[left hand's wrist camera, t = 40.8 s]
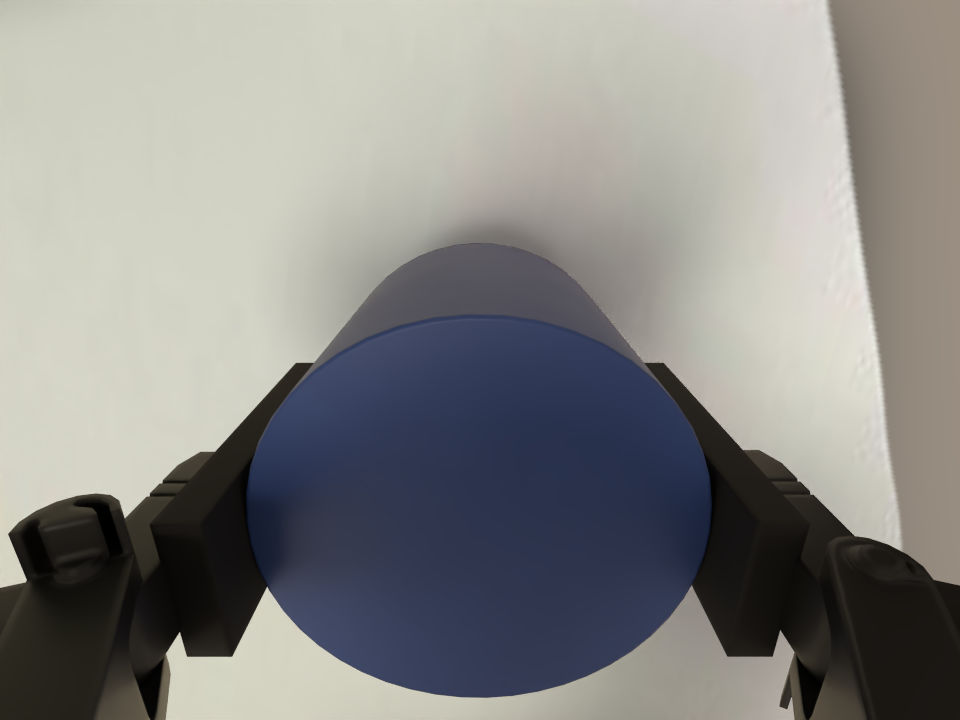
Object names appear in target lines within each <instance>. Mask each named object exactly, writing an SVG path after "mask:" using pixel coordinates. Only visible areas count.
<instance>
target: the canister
mask: <svg viewBox="0 0 960 720" xmlns="http://www.w3.org/2000/svg"><path fill="white" fill-rule="evenodd" d="M711 516H712V495H711V484H710V476H709V472H708V468H707V465H706V461H705V457H704V453H703V450H702V448H701V446H700V444H699V441H698V439H697V437H696V435H695V432H694V430H693V428H692V426H691V424H690V423H689V421H688V420H687V418H686V417H685V415H684V414H683V412H682V411H681V409H680V408H679V406H678V404H677V403H676V402H675V400H674V399H673V398H672V397H671V396H670V394H669V393H668V392H667V391H666V389H665V388H664V387H663V386H662V384H661V383H660V382H659V381H658V380H657V378H656V377H655V376H654V375H653V373H652V372H651V371H650V370H649V369H648V367H647V366H646V365H645V364H644V362H643V361H642V360H641V359H640V358H639V356H638V355H637V354H636V353H635V351H634V350H633V349H632V348H631V346H630V345H629V344H628V343H627V342H626V340H625V339H624V338H623V337H622V335H621V334H620V333H619V332H618V331H617V329H616V328H615V327H614V326H613V324H612V323H611V322H610V321H609V320H608V318H607V317H606V316H605V315H604V313H603V312H602V311H601V310H600V308H599V307H598V306H597V305H596V304H595V302H594V301H593V300H592V299H591V297H590V296H589V295H588V294H587V293H586V292H585V291H584V289H583V288H582V287H581V286H580V285H579V284H578V283H577V282H576V281H575V280H574V279H573V278H572V277H570V276H569V275H568V274H567V273H566V272H565V271H563V270H562V269H560V268H559V267H557V266H556V265H554V264H552V263H551V262H549V261H548V260H546V259H544V258H541V257H539V256H537V255H535V254H533V253H530V252H527V251H524V250H521V249H517V248H514V247H510V246H504V245H497V244H482V243H471V244H462V245H454V246H449V247H445V248H441V249H437V250H434V251H432V252H429V253H426V254H424V255H421V256H419V257H417V258H415V259H413V260H411V261H410V262H408V263H406V264H404V265H402V266H401V267H400V268H398V269H397V270H396V271H394V272H393V273H392V274H390V275H389V276H388V277H387V278H386V279H385V280H384V281H383V282H382V283H381V284H380V285H379V286H378V287H377V288H376V289H375V290H374V291H373V292H372V293H371V294H370V296H369V297H368V298H367V299H366V301H365V302H364V303H363V304H362V305H361V307H360V308H359V309H358V310H357V312H356V313H355V314H354V315H353V316H352V318H351V319H350V320H349V321H348V322H347V324H346V325H345V326H344V327H343V329H342V330H341V331H340V332H339V333H338V335H337V336H336V337H335V338H334V340H333V341H332V342H331V343H330V344H329V346H328V347H327V348H326V349H325V351H324V352H323V353H322V354H321V355H320V357H319V358H318V359H317V360H316V361H315V363H314V364H313V365H312V366H311V368H310V369H309V370H308V371H307V372H306V374H305V375H304V376H303V377H302V379H301V380H300V381H299V382H298V383H297V385H296V386H295V387H294V388H293V390H292V391H291V392H290V393H289V394H288V396H287V397H286V399H285V400H284V401H283V403H282V404H281V405H280V407H279V408H278V409H277V411H276V412H275V413H274V415H273V416H272V417H271V419H270V421H269V423H268V425H267V427H266V429H265V431H264V433H263V435H262V437H261V439H260V440H259V443H258V446H257V449H256V452H255V455H254V458H253V461H252V464H251V467H250V473H249V479H248V485H247V492H246V521H247V527H248V533H249V539H250V545H251V548H252V551H253V554H254V557H255V560H256V563H257V566H258V569H259V571H260V573H261V575H262V577H263V579H264V581H265V583H266V585H267V587H268V589H269V591H270V592H271V593H272V595H273V596H274V598H275V599H276V601H277V602H278V604H279V605H280V607H281V608H282V609H283V611H284V612H285V613H286V614H287V615H288V616H289V617H290V619H291V620H292V621H293V622H294V623H295V624H296V625H297V626H298V627H299V629H300V630H302V631H303V632H304V633H305V634H306V635H307V636H308V637H310V638H311V639H312V640H313V641H314V642H315V643H316V644H318V645H319V646H320V647H322V648H323V649H325V650H326V651H327V652H329V653H330V654H332V655H333V656H335V657H336V658H338V659H339V660H341V661H343V662H345V663H346V664H348V665H350V666H352V667H354V668H356V669H357V670H359V671H361V672H363V673H366V674H368V675H371V676H373V677H375V678H378V679H380V680H383V681H385V682H388V683H391V684H395V685H398V686H401V687H405V688H408V689H412V690H417V691H421V692H426V693H431V694H437V695H446V696H455V697H481V698H488V697H502V696H514V695H520V694H526V693H532V692H538V691H542V690H546V689H549V688H553V687H557V686H561V685H564V684H567V683H570V682H572V681H575V680H578V679H580V678H583V677H586V676H588V675H590V674H592V673H594V672H596V671H598V670H600V669H602V668H604V667H606V666H609V665H610V664H612V663H614V662H615V661H617V660H618V659H620V658H622V657H623V656H625V655H626V654H628V653H630V652H631V651H632V650H634V649H635V648H636V647H638V646H639V645H640V644H641V643H643V642H644V641H645V640H646V639H648V638H649V637H650V636H651V635H652V634H653V633H654V632H655V631H656V630H657V629H658V628H659V627H660V626H661V625H662V624H663V623H664V622H665V621H666V620H667V619H668V618H669V617H670V616H671V614H672V613H673V612H674V610H675V609H676V608H677V606H678V605H679V604H680V603H681V601H682V600H683V599H684V597H685V595H686V593H687V592H688V590H689V588H690V586H691V585H692V583H693V581H694V580H695V578H696V575H697V573H698V570H699V568H700V565H701V563H702V560H703V558H704V555H705V552H706V547H707V543H708V539H709V535H710V530H711Z"/></svg>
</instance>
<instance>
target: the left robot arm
mask: <svg viewBox="0 0 960 720" xmlns="http://www.w3.org/2000/svg"><path fill="white" fill-rule="evenodd" d="M313 364H314V363H296V364H295V365H294V366H293V367H292V368H291V369H290V370H289V371H288V372H287V374H286V375H285V376H284V377H283V378H282V379H281V380H280V381H279V382H278V383H277V385H276V386H275V387H274V388H273V389H272V390H271V391H270V392H269V393H268V394H267V396H266V397H265V398H264V399H263V400H262V401H261V402H260V403H259V404H258V405H257V407H256V408H255V409H254V410H253V411H252V412H251V413H250V414H249V415H248V416H247V418H246V419H245V420H244V421H243V422H242V423H241V424H240V425H239V426H238V427H237V429H236V430H235V431H234V432H233V433H232V434H231V435H230V436H229V437H228V438H227V440H226V441H225V442H224V443H223V444H222V445H221V446H220V447H219V448H218V449H217V451H216V452H200V453H198V454H196V455H195V456H193V457H191V458H189V459H188V460H186V461H184V462H183V463H181V464H179V465H178V466H177V467H176V468H175V469H174V470H173V471H172V472H171V473H170V474H169V475H168V476H167V477H166V478H165V479H164V480H163V483H162V484H159V485H158V486H157V487H156V488H155V489H154V490H153V491H152V492H151V493H150V497H146V498H145V499H144V500H143V501H142V502H141V503H140V504H139V505H138V506H137V507H136V508H135V509H134V510H133V511H132V512H131V513H130V514H129V515H128V516H127V517H126V518H124V515H123V512H122V508H121V505H120V502H119V500H118V499H116V498H114V497H113V496H111V495H105V494H89V495H81V496H75V497H72V498H68V499H65V500H61V501H58V502H55V503H53V504H51V505H48V506H46V507H44V508H42V509H40V510H37V511H35V512H34V513H32V514H31V515H29V516H28V517H26V518H25V519H23V520H22V521H20V522H19V523H18V524H17V525H16V526H15V527H14V528H13V529H12V530H11V532H10V533H9V534H8V535H9V537H10V540H11V542H12V545H13V547H14V550H15V552H16V554H17V557H18V559H19V562H20V564H21V567H22V569H23V571H24V574H25V576H26V579H27V581H26V583H21V584H17V585H12V586H7V587H3V588H0V720H166V711H167V702H168V693H169V684H170V675H171V674H170V668H169V662H168V659H167V656H166V652H167V651H168V649H169V648H170V646H171V645H172V643H173V641H174V640H175V638H176V637H177V635H178V634H179V632H180V633H181V637H182V640H183V644H184V647H185V651H186V655H187V657H232V656H233V654H234V652H235V650H236V648H237V646H238V644H239V642H240V640H241V638H242V636H243V634H244V632H245V630H246V628H247V626H248V624H249V622H250V620H251V618H252V616H253V614H254V612H255V610H256V608H257V606H258V604H259V602H260V600H261V598H262V596H263V594H264V592H265V590H266V588H267V585H266V583H265V581H264V579H263V577H262V575H261V573H260V571H259V569H258V566H257V563H256V560H255V557H254V554H253V551H252V548H251V545H250V539H249V533H248V527H247V521H246V492H247V485H248V479H249V473H250V467H251V464H252V461H253V458H254V455H255V452H256V449H257V446H258V443H259V440H260V439H261V437H262V435H263V433H264V431H265V429H266V427H267V425H268V423H269V421H270V419H271V417H272V416H273V415H274V413H275V412H276V411H277V409H278V408H279V407H280V405H281V404H282V403H283V401H284V400H285V399H286V397H287V396H288V394H289V393H290V392H291V391H292V390H293V388H294V387H295V386H296V385H297V383H298V382H299V381H300V380H301V379H302V377H303V376H304V375H305V374H306V372H307V371H308V370H309V369H310V368H311V366H312V365H313ZM644 364H645V365H646V366H647V367H648V369H649V370H650V371H651V372H652V373H653V375H654V376H655V377H656V378H657V380H658V381H659V382H660V383H661V384H662V386H663V387H664V388H665V389H666V391H667V392H668V393H669V394H670V396H671V397H672V398H673V399H674V400H675V402H676V403H677V404H678V406H679V408H680V409H681V411H682V412H683V414H684V415H685V417H686V418H687V420H688V421H689V423H690V424H691V426H692V428H693V430H694V432H695V435H696V437H697V439H698V441H699V444H700V446H701V448H702V450H703V453H704V457H705V461H706V465H707V468H708V472H709V476H710V484H711V495H712V516H711V530H710V535H709V539H708V543H707V547H706V552H705V555H704V558H703V560H702V563H701V565H700V568H699V570H698V573H697V575H696V578H695V580H694V581H693V583H692V586H693V588H694V590H695V592H696V594H697V596H698V598H699V600H700V602H701V604H702V606H703V608H704V610H705V612H706V614H707V616H708V618H709V620H710V622H711V624H712V626H713V628H714V630H715V632H716V634H717V636H718V638H719V641H720V643H721V645H722V647H723V649H724V651H725V653H726V655H727V657H773V653H774V650H775V646H776V643H777V639H778V636H779V632H780V630H781V632H782V633H783V635H784V636H785V638H786V639H787V641H788V642H789V644H790V646H791V647H792V649H793V650H794V652H795V653H794V656H793V659H792V662H791V666H790V669H789V672H788V676H787V679H786V682H785V685H784V689H783V692H782V695H781V701H780V707H783V708H785V709H787V708H788V705H789V702H790V699H791V697H792V700H793V709H794V718H795V720H960V586H959V585H954V584H950V583H945V582H940V581H936V580H933V579H932V577H931V576H930V575H929V573H928V572H927V571H926V570H925V568H924V567H923V566H922V565H920V564H919V563H918V562H916V561H915V560H914V559H913V558H911V557H910V556H909V555H907V554H905V553H903V552H901V551H899V550H897V549H896V548H894V547H892V546H890V545H887V544H884V543H881V542H878V541H875V540H872V539H869V538H863V537H856V536H854V535H853V534H852V533H851V532H850V531H849V530H848V529H847V528H846V527H845V526H844V525H843V524H842V523H841V522H840V521H839V520H838V519H837V518H836V517H835V516H834V515H833V514H832V513H831V512H830V511H829V510H828V509H827V508H826V507H825V506H824V505H823V504H822V503H821V502H820V501H819V500H818V499H817V498H816V497H815V496H814V495H810V491H809V490H808V489H807V488H806V487H805V486H804V485H803V484H802V483H801V482H798V481H797V478H796V477H795V476H794V475H793V474H792V473H791V472H790V471H789V470H788V469H787V468H786V467H785V466H784V465H783V464H782V463H780V462H779V461H777V460H775V459H774V458H772V457H770V456H768V455H767V454H765V453H763V452H761V451H760V450H742V449H741V448H740V447H739V445H738V444H737V443H736V442H735V441H734V440H733V439H732V438H731V437H730V436H729V434H728V433H727V432H726V431H725V430H724V429H723V428H722V427H721V426H720V425H719V423H718V422H717V421H716V420H715V419H714V418H713V417H712V416H711V415H710V414H709V412H708V411H707V410H706V409H705V408H704V407H703V406H702V405H701V404H700V403H699V401H698V400H697V399H696V398H695V397H694V396H693V395H692V394H691V393H690V392H689V390H688V389H687V388H686V387H685V386H684V385H683V384H682V383H681V382H680V381H679V379H678V378H677V377H676V376H675V375H674V374H673V373H672V372H671V371H670V370H669V368H668V367H667V366H666V365H665V364H664V363H644Z"/></svg>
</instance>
